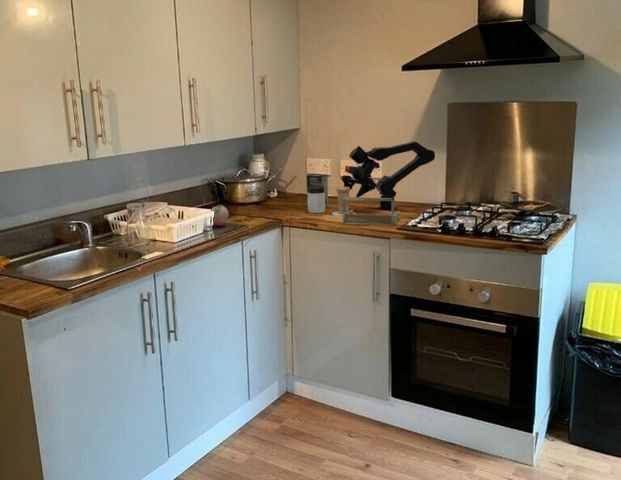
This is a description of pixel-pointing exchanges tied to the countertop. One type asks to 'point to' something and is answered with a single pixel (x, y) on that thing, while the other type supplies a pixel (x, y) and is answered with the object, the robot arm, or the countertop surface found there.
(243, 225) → the countertop surface
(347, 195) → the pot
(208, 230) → the countertop surface
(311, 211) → the jar
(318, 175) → the coffee box
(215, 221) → the decorative fruit
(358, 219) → the box
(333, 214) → the saucer
